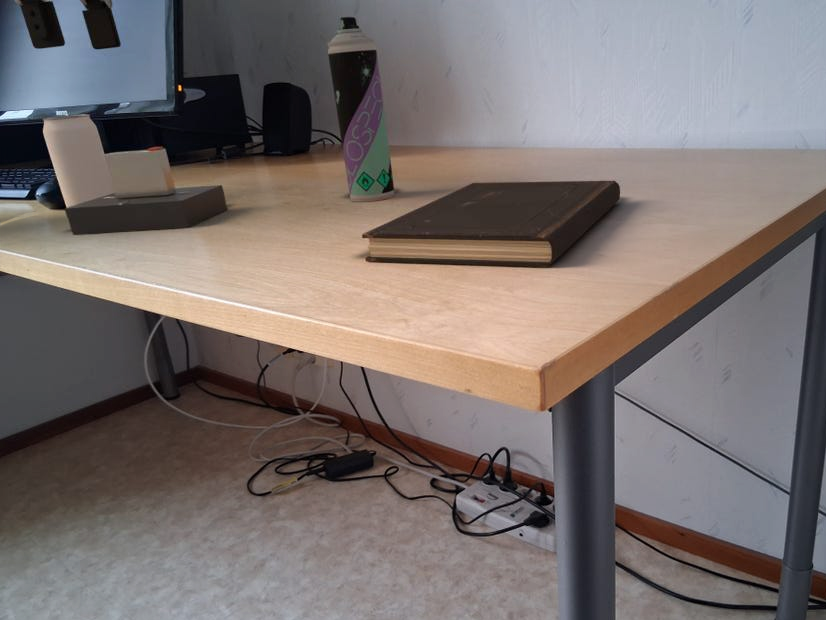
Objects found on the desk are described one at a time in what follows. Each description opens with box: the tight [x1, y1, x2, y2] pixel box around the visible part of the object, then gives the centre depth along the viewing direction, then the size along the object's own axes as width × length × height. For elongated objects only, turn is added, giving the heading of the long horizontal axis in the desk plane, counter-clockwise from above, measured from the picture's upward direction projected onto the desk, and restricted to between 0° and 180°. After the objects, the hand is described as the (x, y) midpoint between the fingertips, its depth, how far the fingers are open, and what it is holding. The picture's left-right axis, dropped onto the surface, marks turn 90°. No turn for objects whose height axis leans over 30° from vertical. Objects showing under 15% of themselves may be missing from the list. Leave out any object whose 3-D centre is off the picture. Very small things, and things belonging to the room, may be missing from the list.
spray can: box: [327, 16, 396, 203], centre depth 82 cm, size 6×6×20 cm
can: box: [42, 114, 115, 208], centre depth 95 cm, size 6×6×12 cm
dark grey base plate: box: [64, 184, 228, 236], centre depth 82 cm, size 14×11×3 cm
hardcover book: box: [361, 180, 621, 268], centre depth 63 cm, size 16×23×2 cm
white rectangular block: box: [104, 146, 176, 199], centre depth 80 cm, size 6×2×5 cm, turn 84°
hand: (80, 47), depth 74 cm, fingers open, 9 cm apart
